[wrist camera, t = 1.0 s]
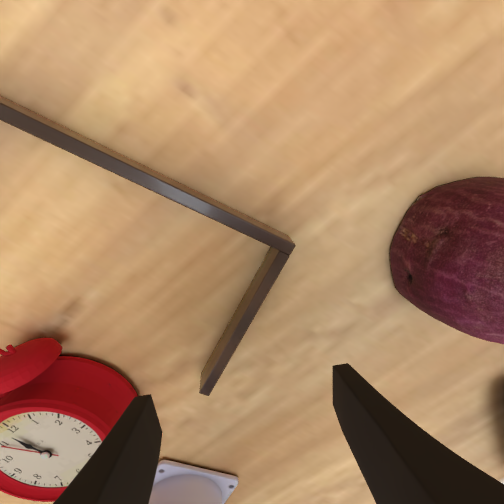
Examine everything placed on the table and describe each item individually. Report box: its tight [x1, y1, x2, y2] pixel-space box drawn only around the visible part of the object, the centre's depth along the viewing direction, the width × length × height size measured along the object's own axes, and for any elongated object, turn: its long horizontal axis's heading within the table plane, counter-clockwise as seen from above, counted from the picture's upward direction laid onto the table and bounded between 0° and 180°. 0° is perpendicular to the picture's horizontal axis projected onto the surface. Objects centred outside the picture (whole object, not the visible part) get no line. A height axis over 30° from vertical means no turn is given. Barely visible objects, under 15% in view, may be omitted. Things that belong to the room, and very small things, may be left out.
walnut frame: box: [0, 96, 295, 396], centre depth 18 cm, size 13×21×2 cm, turn 63°
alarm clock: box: [0, 337, 138, 502], centre depth 20 cm, size 10×6×15 cm
